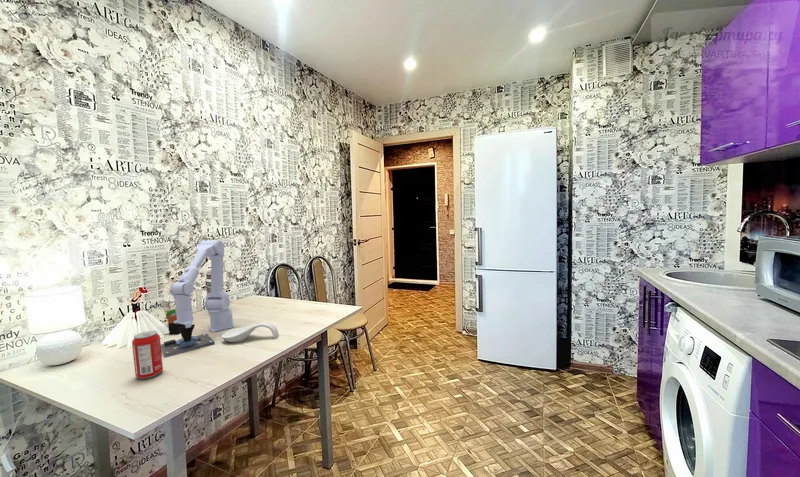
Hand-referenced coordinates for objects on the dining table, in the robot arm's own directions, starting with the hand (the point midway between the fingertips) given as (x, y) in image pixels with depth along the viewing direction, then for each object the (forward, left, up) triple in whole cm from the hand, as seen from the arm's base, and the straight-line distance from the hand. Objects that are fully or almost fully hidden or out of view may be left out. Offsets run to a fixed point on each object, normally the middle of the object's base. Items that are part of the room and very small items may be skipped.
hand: (186, 340), depth 143 cm
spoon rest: (-22, +12, -3) cm, 26 cm away
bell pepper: (-2, -37, -3) cm, 37 cm away
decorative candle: (-22, -44, -3) cm, 49 cm away
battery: (0, -24, -3) cm, 24 cm away
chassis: (0, 0, -3) cm, 3 cm away
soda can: (+15, +21, -3) cm, 26 cm away
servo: (0, 0, -3) cm, 3 cm away
